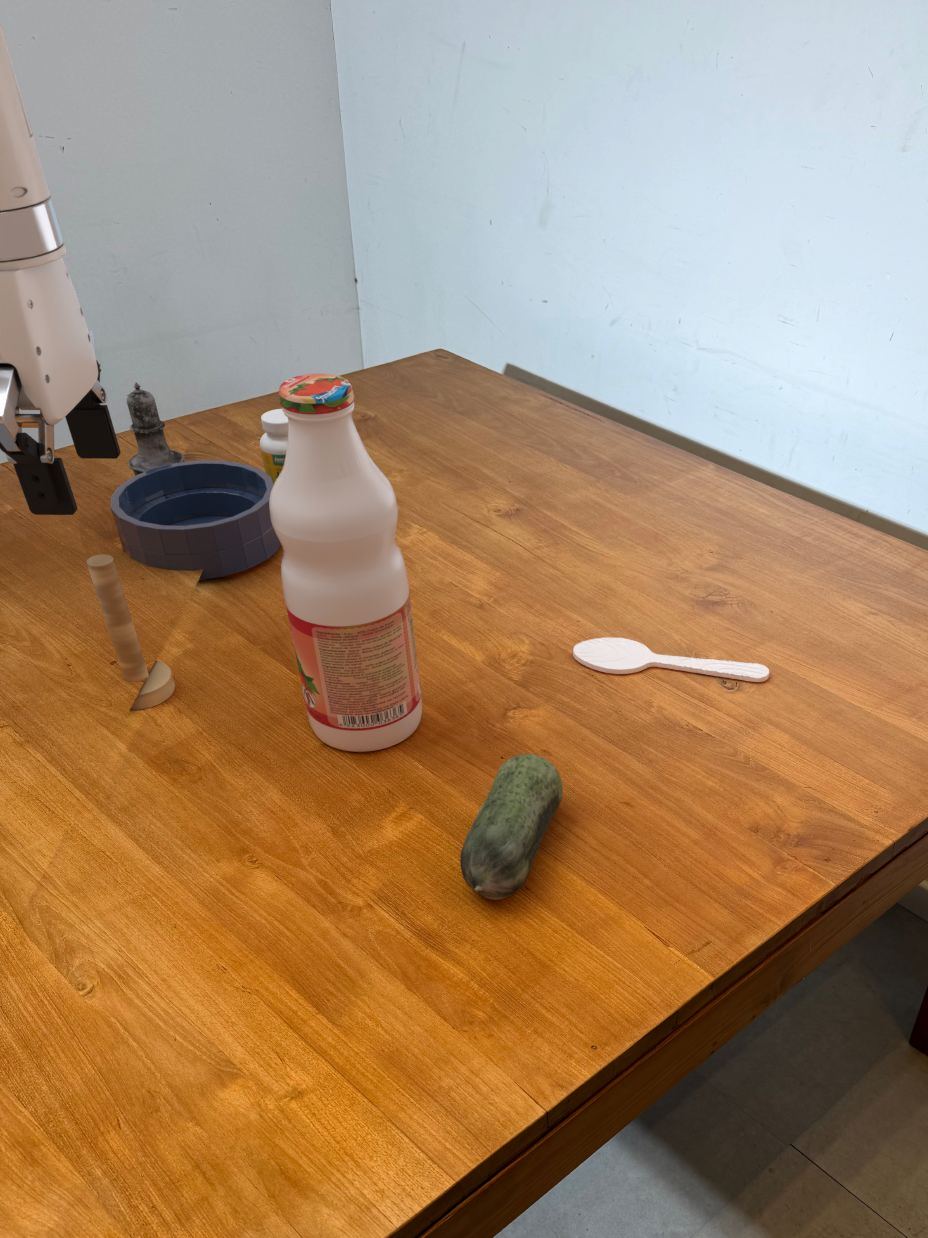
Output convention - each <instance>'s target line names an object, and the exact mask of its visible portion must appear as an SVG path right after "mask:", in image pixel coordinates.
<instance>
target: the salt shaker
mask: <svg viewBox="0 0 928 1238" xmlns="http://www.w3.org/2000/svg"><path fill="white" fill-rule="evenodd" d="M141 387H142V386H141V385H140V384H139V383H138V382H135V383H134V385H133V388H134V389H135V390H133V391H131V392H130V393H129V394H128V395H127V397H126V405H127V409H128V412H129V415H130V419H131V424H130V426H129V429H130V431H131V432H132V433H134V437H135V441H136V444H137V453H136V454H135V455H133V456H132V457H131V458H130V459H128V462H127V464H128V467H129V469H131V470H132V471H133V475H134V476H136V475H138V474H141V473H143V472H146V471H148V470H151V469H154V468H158V467H162V466H166V465H170V464H174V463H181V462H185V460H186V458H185V455H184V454H182V452H180V451H177V450H174V449H171V448H170V446H169V444H168V442H167V440H166V436H165V431H164V428H165V427H166V423H165V422H164V421H163V420H161V419H160V414H159V411H158V407H157V403H156V398H155V396H154V395H153V394H152V393H151V392H149V391H147V390H144V389H142V388H141Z"/></svg>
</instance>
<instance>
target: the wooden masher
mask: <svg viewBox="0 0 928 1238" xmlns="http://www.w3.org/2000/svg"><path fill="white" fill-rule="evenodd" d="M85 563H86V566H87V569H88V572H89V575H90V578H91V581H92V584H93V588H94V591H95V593H96V597H97V600H98V603H99V606H100V609H101V612H102V615H103V618H104V621H105V622H104V623H105V625H106V629H107V631H108V634H109V637H110V641H111V643H112V647H113V649H114V652H115V655H116V659H117V661H118V664H119V669H120V671H121V674H122V678H123V679H124V680H125V682H130V683H136V682H137V683H138V682H141V681H144V682H143V684H142V686H141V688H140V689H139V691H138V693H137V695H136V697H135V698H134V700H133V702H132V705H131V706H130V708H129V711H140V710H147V709H150V708H153V707H156V706H158V705H160V704H163V703H164V702H165V701H167V700H168V699H169V698H171V696H173V693H174V692H175V689H176V684H175V680H174V677H173V672H172V669H171V668H170V666H169V665H167V664H166V663H165V662H163V661H160V660H155V661H154V662H153V664H152V666H151V669H150V670H148V667H147V664H146V660H145V658H144V653H143V651H142V648H141V644H140V640H139V638H138V635H137V631H136V628H135V625H134V621H133V618H132V615H131V612H130V608H129V605H128V602H127V598H126V595H125V592H124V589H123V586H122V582H121V579H120V576H119V572H118V569H117V566H116V562H115V559H114V557H113V555H110V554H106V553H104V554H103V553H101V554H96V555H93V556H90V557H89V558H87V560H86V562H85Z"/></svg>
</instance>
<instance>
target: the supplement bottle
mask: <svg viewBox="0 0 928 1238" xmlns="http://www.w3.org/2000/svg"><path fill="white" fill-rule="evenodd" d="M260 420H261V428H262V430H263V431H264V434H262V435H261V438H260V440H259V449H260V453H261V458H262V461H263V467H264V472H265V473H266V474H267V475H268V476H270V477H271V478H272V479H273V483H275V481H276V479H277V478H278V476H279V475H280V473H281V471H282V469H283V466H284V462H285V457H286V450H287V443H288V429H289V424H288V417H287V416H285V415H284V413H283V411H282V408H277V409H272V410H268V411H266V412H264V413H263V414H262V415H261V416H260Z"/></svg>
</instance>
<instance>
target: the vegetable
mask: <svg viewBox="0 0 928 1238" xmlns="http://www.w3.org/2000/svg"><path fill="white" fill-rule="evenodd" d="M494 777H495V778H494V779H493V782H492V785H491V787H490V790H489V792H488V794H487V796H485V797H486V798H485V800H484V801H483V803H482V805H481V807H480V809H479V811H478V813H477V814H476V817H475V819H474V820H473V822H472V824H471V826H470V828H469V831H468V832H467V834H466V836H465V839H464V842H463V845H462V847H461V850H460V851H461V852H460V859H459V860H460V861H459V862H460V863H459V864H460V871H461V875H462V877H463V880H464V881H465V883H466V884H467V886H469V888H471V890H473V891H474V892H475V893H477V894H478V895H479V896H481V897H482V898H485V899H489V900H492V901H494V900H495V901H497V900H499V901H500V900H503V899H507V898H509V897H511V896H513V895H514V894H517V893H518V891H519V890H520V889H521V888H522V887H523V886H524V884H525V882H526V880H527V878H528V876H529V873H530V870H531V868H532V866H533V864H534V862H535V858H536V856H537V853H538V851H539V849H540V846H541V844H542V841H543V839H544V837H545V834H546V832H547V831H548V828H549V825H550V823H551V821H552V819H553V817H554V815H555V813H556V812H557V810H558V808H559V806H560V805H561V802H562V799H563V795H564V788H563V787H564V786H563V781H562V777H561V775H560V773H559V771H558V769H557V768H556V767H555V765H554V764H553V763H552V762H551V761H549V760H548V759H546V758H545V757H543V756H541V755H537V754H532V753H526V754H518V755H515V756H512V757H510V758H509V759H507V760H505V761H504V762H503V763H502V764H501V765H500V767H499V768H498V770H497V772H496V775H495V776H494Z"/></svg>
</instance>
